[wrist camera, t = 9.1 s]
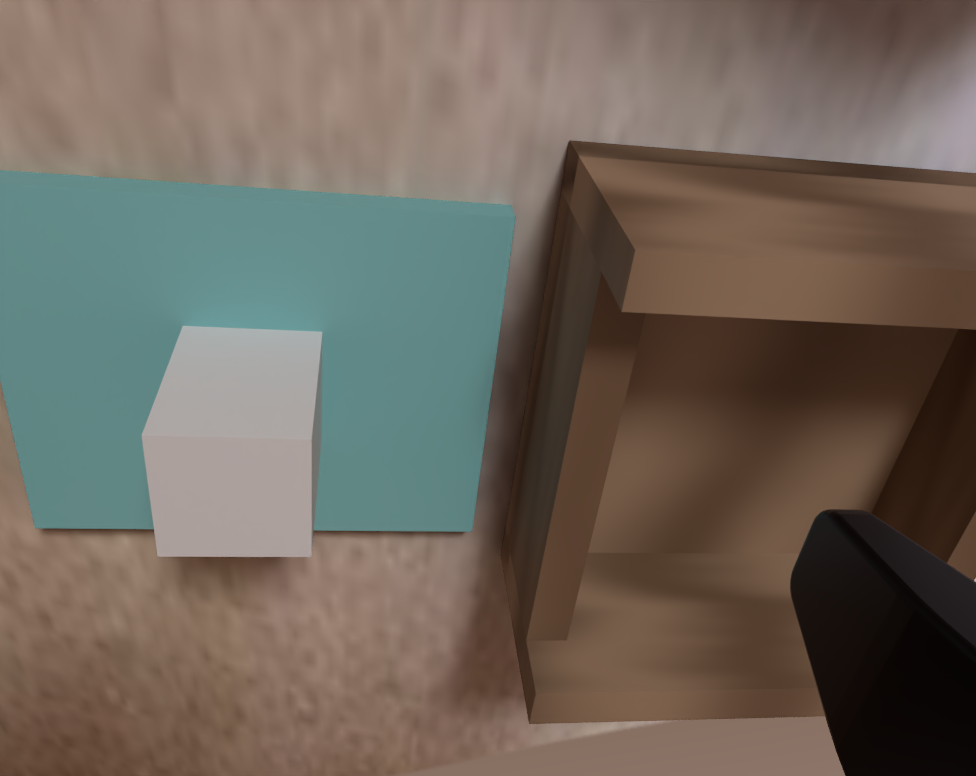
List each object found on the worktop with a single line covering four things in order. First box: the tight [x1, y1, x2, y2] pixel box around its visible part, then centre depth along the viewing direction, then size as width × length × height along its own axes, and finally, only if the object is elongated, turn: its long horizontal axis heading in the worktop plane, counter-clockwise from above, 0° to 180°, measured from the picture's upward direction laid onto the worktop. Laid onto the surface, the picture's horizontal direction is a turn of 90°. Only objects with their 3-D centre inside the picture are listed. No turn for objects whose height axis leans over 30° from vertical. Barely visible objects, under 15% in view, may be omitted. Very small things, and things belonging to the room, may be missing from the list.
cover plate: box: [0, 170, 516, 557], centre depth 19 cm, size 11×9×5 cm
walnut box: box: [501, 141, 976, 724], centre depth 20 cm, size 11×12×6 cm
